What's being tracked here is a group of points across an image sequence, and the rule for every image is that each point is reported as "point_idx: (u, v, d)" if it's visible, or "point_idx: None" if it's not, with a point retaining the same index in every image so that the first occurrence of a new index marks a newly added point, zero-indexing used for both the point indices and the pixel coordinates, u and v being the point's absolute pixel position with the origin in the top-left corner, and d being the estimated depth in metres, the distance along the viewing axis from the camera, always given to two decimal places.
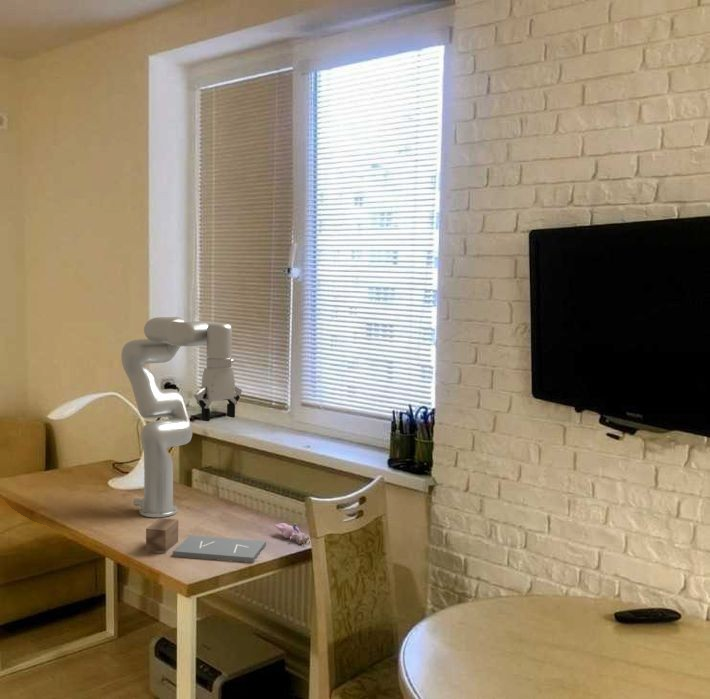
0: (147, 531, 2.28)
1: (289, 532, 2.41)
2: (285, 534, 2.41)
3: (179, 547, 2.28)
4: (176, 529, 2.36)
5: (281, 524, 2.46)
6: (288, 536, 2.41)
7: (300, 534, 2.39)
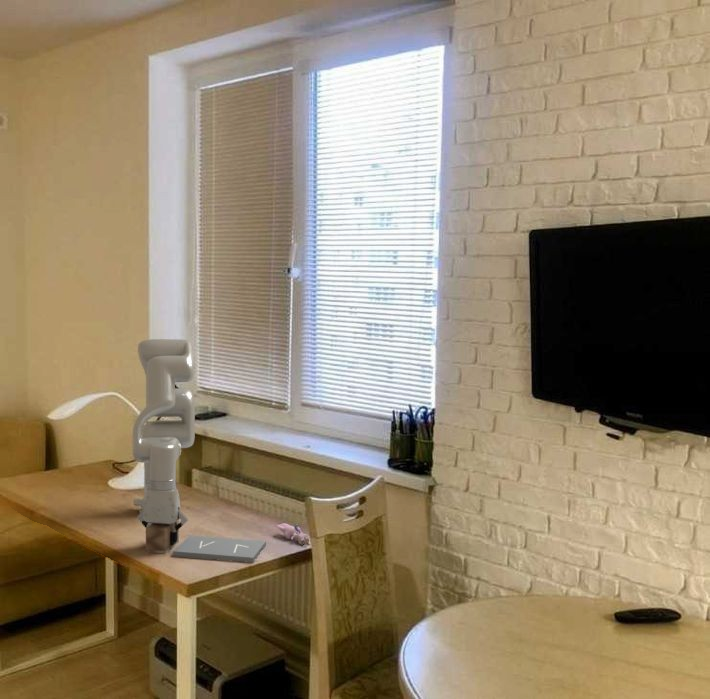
0: (147, 530, 2.28)
1: (291, 532, 2.41)
2: (287, 534, 2.41)
3: (179, 547, 2.28)
4: None
5: (283, 524, 2.46)
6: (290, 536, 2.41)
7: (301, 535, 2.39)
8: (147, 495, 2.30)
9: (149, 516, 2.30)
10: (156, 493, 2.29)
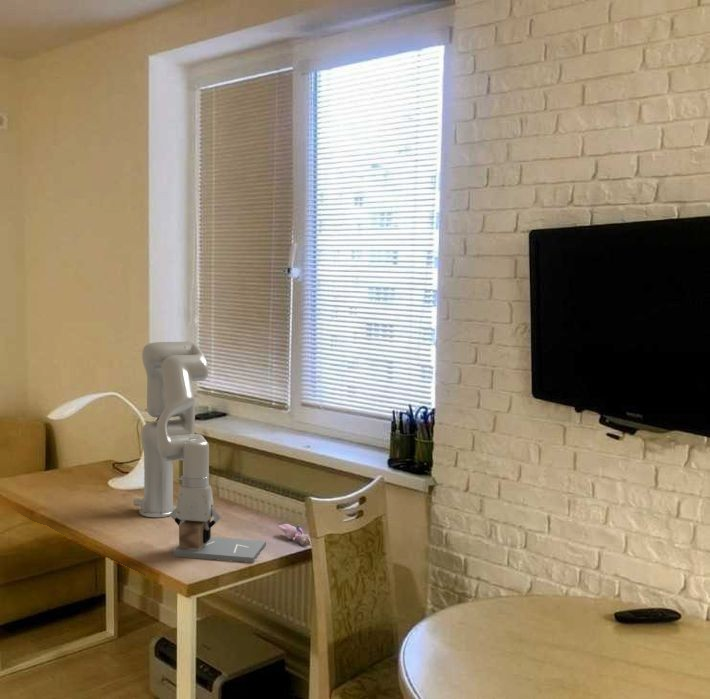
0: (180, 528, 2.26)
1: (292, 533, 2.41)
2: (288, 535, 2.40)
3: None
4: None
5: (284, 525, 2.46)
6: (291, 537, 2.41)
7: (303, 535, 2.38)
8: (180, 492, 2.28)
9: (182, 513, 2.28)
10: (189, 490, 2.27)
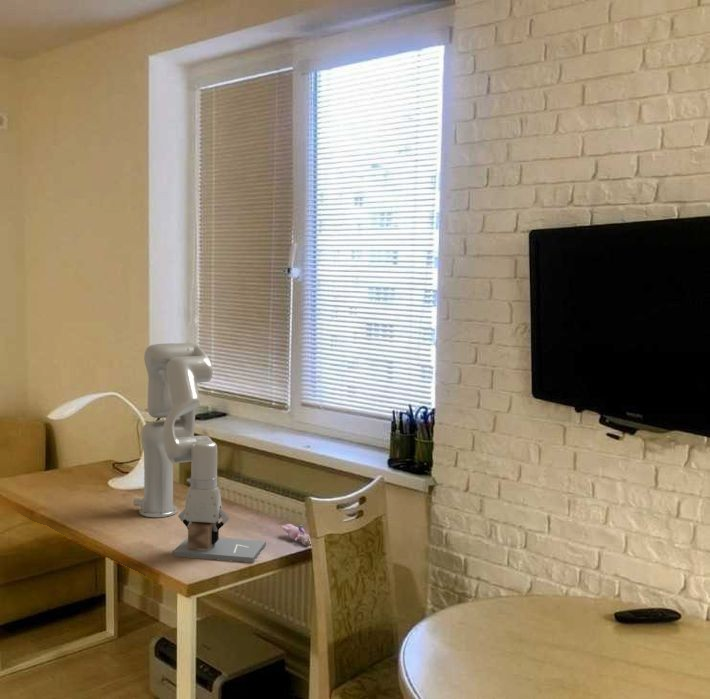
0: (189, 528, 2.26)
1: (295, 533, 2.40)
2: (291, 535, 2.40)
3: (179, 547, 2.28)
4: None
5: (287, 525, 2.45)
6: (294, 537, 2.40)
7: (305, 536, 2.38)
8: (189, 494, 2.28)
9: (191, 515, 2.28)
10: (198, 492, 2.27)
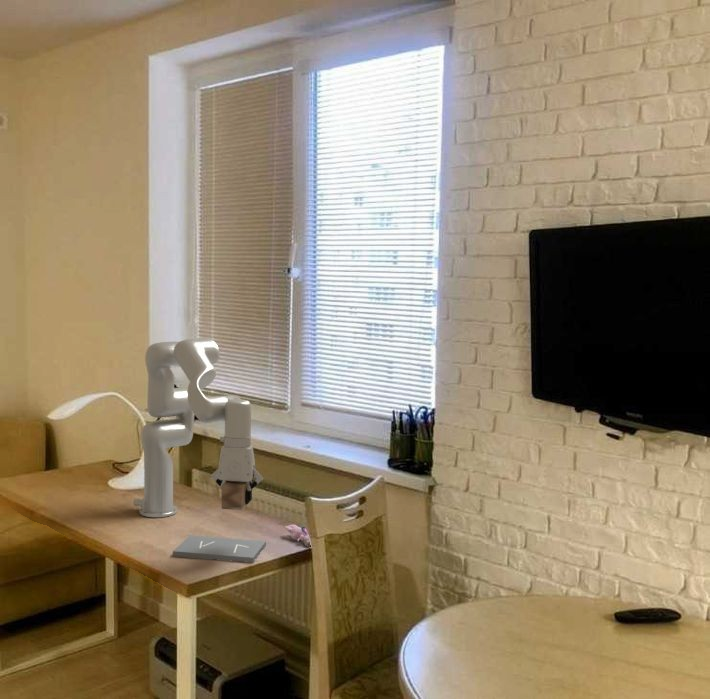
0: (223, 487, 2.24)
1: (298, 534, 2.40)
2: (293, 536, 2.40)
3: (179, 547, 2.28)
4: None
5: (291, 526, 2.45)
6: (297, 538, 2.40)
7: (307, 536, 2.37)
8: (222, 453, 2.25)
9: (224, 474, 2.26)
10: (232, 450, 2.25)
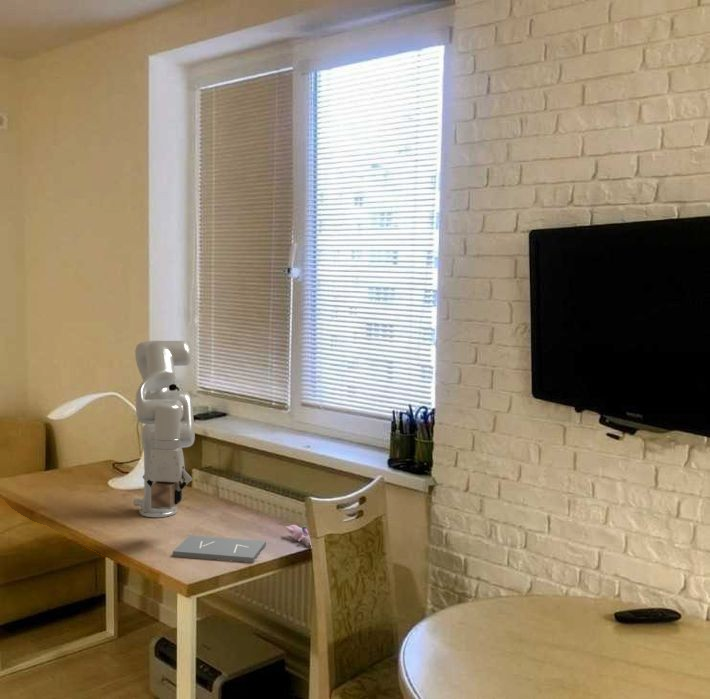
0: (152, 487, 2.33)
1: (298, 534, 2.40)
2: (294, 536, 2.39)
3: (179, 547, 2.28)
4: None
5: (292, 526, 2.45)
6: (297, 538, 2.40)
7: (308, 537, 2.37)
8: (152, 454, 2.35)
9: (154, 475, 2.35)
10: (161, 452, 2.34)
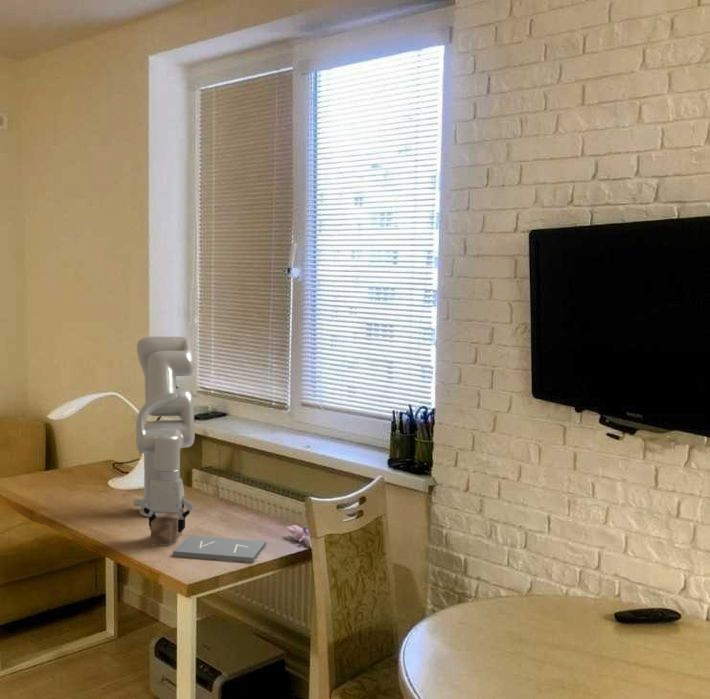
0: (152, 524, 2.34)
1: (299, 534, 2.39)
2: (295, 536, 2.39)
3: (179, 547, 2.28)
4: None
5: (293, 526, 2.45)
6: (298, 539, 2.39)
7: None
8: (152, 485, 2.35)
9: (154, 505, 2.36)
10: (161, 483, 2.35)
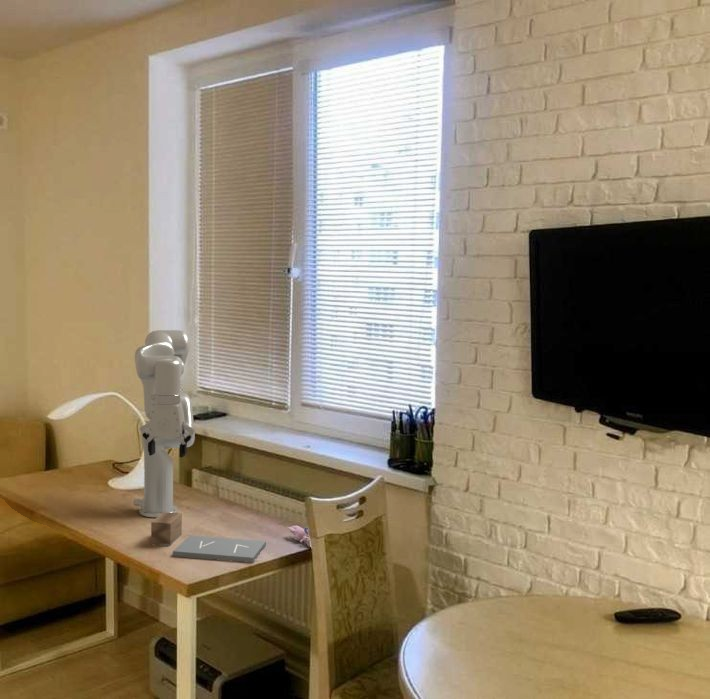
0: (152, 524, 2.34)
1: (300, 535, 2.39)
2: (296, 537, 2.39)
3: (179, 547, 2.28)
4: (180, 522, 2.42)
5: (294, 527, 2.44)
6: (299, 539, 2.39)
7: None
8: (152, 410, 2.33)
9: (154, 431, 2.33)
10: (161, 408, 2.33)
